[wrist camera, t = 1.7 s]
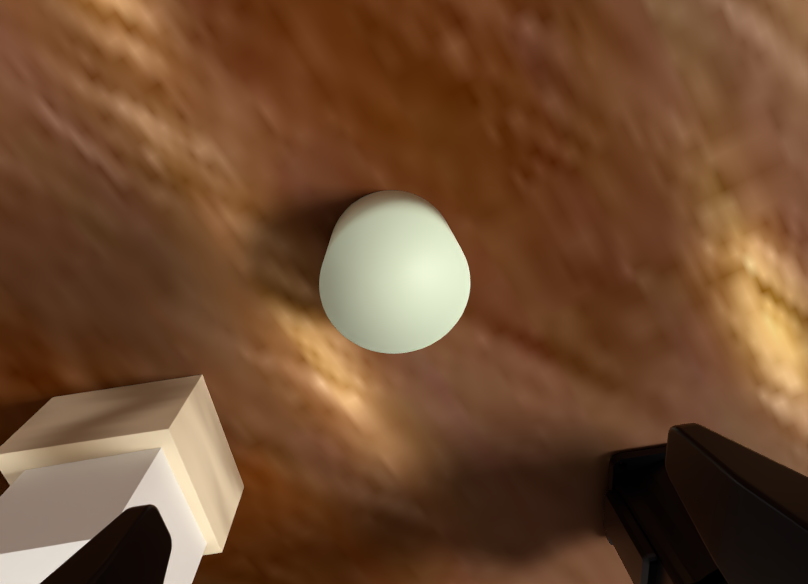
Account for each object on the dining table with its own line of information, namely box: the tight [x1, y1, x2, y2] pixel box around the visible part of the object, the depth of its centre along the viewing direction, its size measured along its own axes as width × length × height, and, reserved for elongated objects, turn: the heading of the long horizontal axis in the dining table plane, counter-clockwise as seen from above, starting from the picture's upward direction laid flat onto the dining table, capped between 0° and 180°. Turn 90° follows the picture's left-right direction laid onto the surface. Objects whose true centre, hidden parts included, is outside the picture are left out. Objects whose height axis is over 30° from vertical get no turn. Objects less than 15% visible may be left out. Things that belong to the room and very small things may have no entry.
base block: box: [0, 375, 244, 555], centre depth 21 cm, size 7×7×4 cm
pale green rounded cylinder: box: [319, 190, 470, 354], centre depth 18 cm, size 5×5×4 cm
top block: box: [0, 448, 207, 584], centre depth 18 cm, size 6×6×4 cm
